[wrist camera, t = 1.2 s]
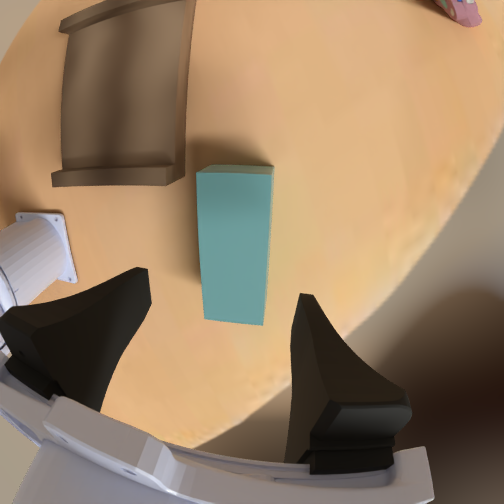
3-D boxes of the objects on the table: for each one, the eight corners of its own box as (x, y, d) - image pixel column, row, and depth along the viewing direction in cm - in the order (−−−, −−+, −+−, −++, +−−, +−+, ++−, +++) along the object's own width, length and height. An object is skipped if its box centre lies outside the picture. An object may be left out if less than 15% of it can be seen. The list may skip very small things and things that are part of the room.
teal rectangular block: (216, 290, 24) (204, 319, 20) (213, 164, 19) (196, 172, 16) (266, 295, 24) (262, 325, 20) (274, 166, 19) (271, 174, 15)
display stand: (77, 177, 20) (52, 187, 17) (84, 27, 14) (61, 20, 11) (184, 176, 20) (166, 185, 16) (196, -2, 13) (181, -21, 10)
